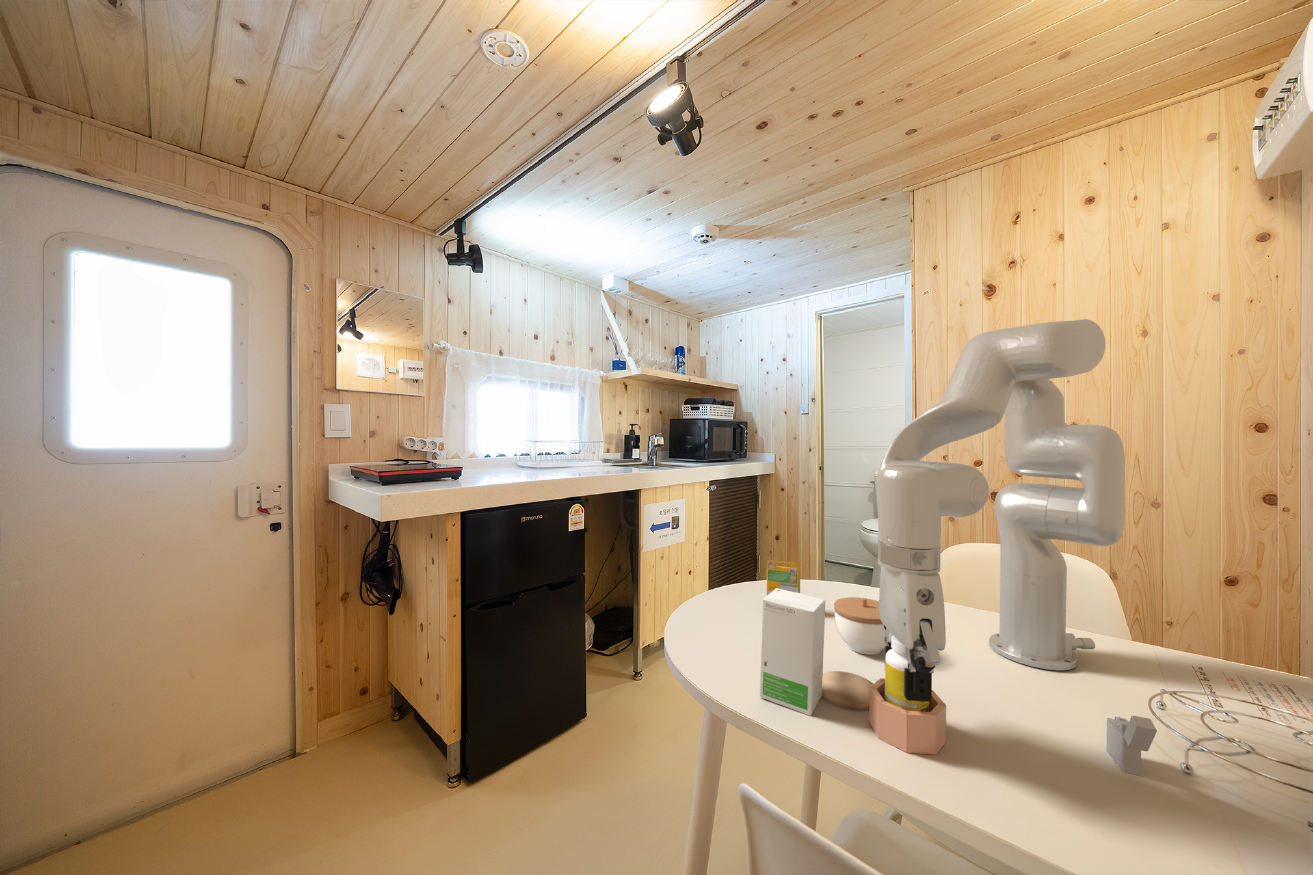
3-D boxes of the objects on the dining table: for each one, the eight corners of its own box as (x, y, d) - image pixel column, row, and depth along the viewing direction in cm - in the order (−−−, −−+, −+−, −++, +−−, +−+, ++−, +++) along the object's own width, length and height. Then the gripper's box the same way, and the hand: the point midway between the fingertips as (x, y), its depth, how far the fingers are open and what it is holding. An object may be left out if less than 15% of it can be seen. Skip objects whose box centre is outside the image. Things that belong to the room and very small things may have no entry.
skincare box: (758, 698, 71) (759, 598, 71) (773, 679, 77) (774, 586, 76) (813, 717, 67) (814, 610, 66) (825, 695, 72) (826, 596, 72)
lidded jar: (881, 635, 93) (882, 589, 93) (905, 662, 82) (905, 610, 82) (827, 633, 94) (827, 587, 94) (843, 659, 83) (843, 608, 83)
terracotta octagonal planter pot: (923, 714, 67) (923, 680, 67) (956, 755, 59) (956, 716, 59) (862, 710, 68) (863, 677, 68) (886, 751, 59) (886, 713, 59)
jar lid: (866, 678, 77) (866, 672, 77) (888, 711, 68) (889, 704, 68) (811, 675, 78) (811, 669, 78) (826, 708, 69) (826, 701, 69)
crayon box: (800, 609, 106) (800, 559, 106) (799, 614, 103) (799, 563, 103) (768, 605, 109) (768, 556, 108) (766, 610, 106) (766, 560, 106)
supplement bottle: (928, 727, 60) (929, 653, 59) (882, 713, 62) (883, 642, 62) (929, 706, 64) (930, 636, 64) (886, 694, 67) (887, 627, 67)
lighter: (1105, 749, 60) (1106, 689, 60) (1123, 753, 59) (1124, 692, 59) (1135, 788, 53) (1137, 720, 53) (1156, 793, 53) (1157, 724, 52)
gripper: (974, 576, 54) (972, 728, 54) (908, 541, 71) (907, 656, 71) (908, 574, 55) (906, 724, 55) (858, 540, 72) (857, 654, 72)
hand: (906, 685), depth 63 cm, fingers closed on supplement bottle, 5 cm apart
